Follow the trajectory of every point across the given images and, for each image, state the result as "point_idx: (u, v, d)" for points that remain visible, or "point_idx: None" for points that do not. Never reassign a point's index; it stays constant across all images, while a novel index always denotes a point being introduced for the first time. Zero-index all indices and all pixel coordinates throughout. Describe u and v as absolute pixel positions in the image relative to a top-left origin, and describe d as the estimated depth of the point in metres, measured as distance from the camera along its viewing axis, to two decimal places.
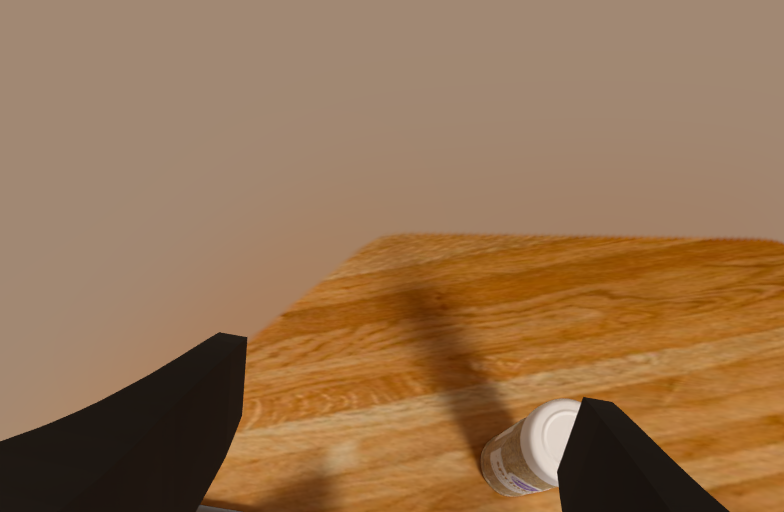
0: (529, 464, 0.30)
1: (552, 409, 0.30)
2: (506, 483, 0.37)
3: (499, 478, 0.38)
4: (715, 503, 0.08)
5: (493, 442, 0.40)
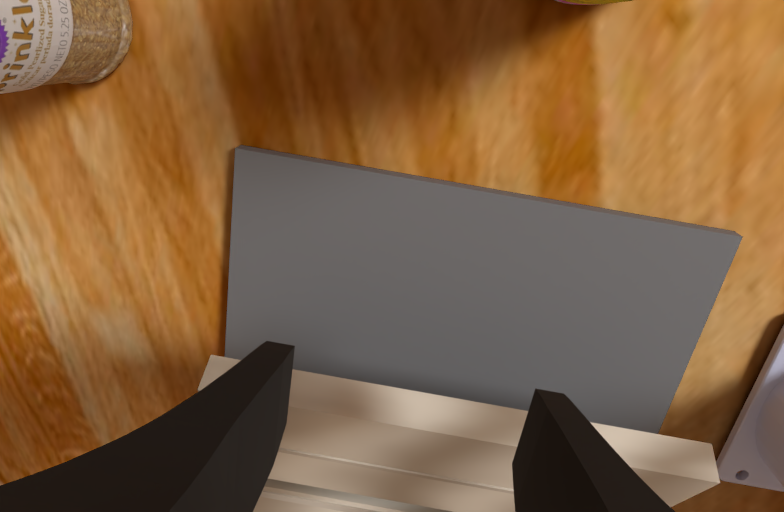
0: None
1: None
2: (39, 66, 0.15)
3: (42, 77, 0.16)
4: (649, 491, 0.08)
5: None
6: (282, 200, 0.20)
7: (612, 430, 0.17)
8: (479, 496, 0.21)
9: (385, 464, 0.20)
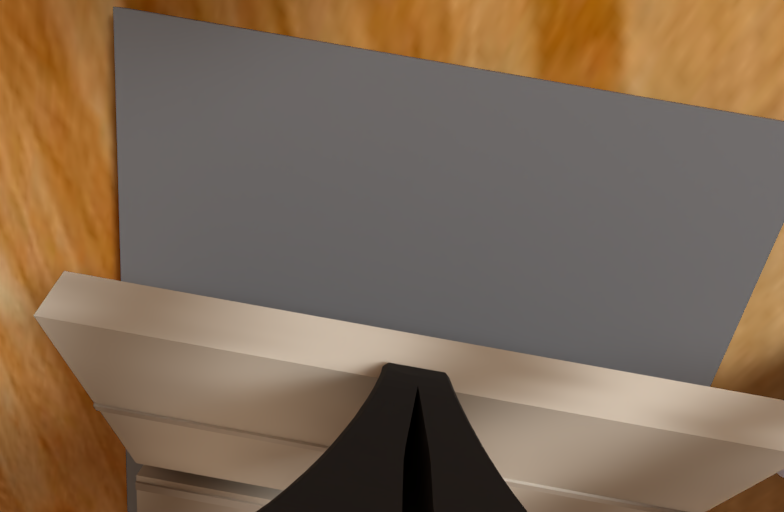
0: None
1: None
2: None
3: None
4: (487, 462, 0.08)
5: None
6: (183, 84, 0.15)
7: (643, 380, 0.12)
8: None
9: (325, 441, 0.14)
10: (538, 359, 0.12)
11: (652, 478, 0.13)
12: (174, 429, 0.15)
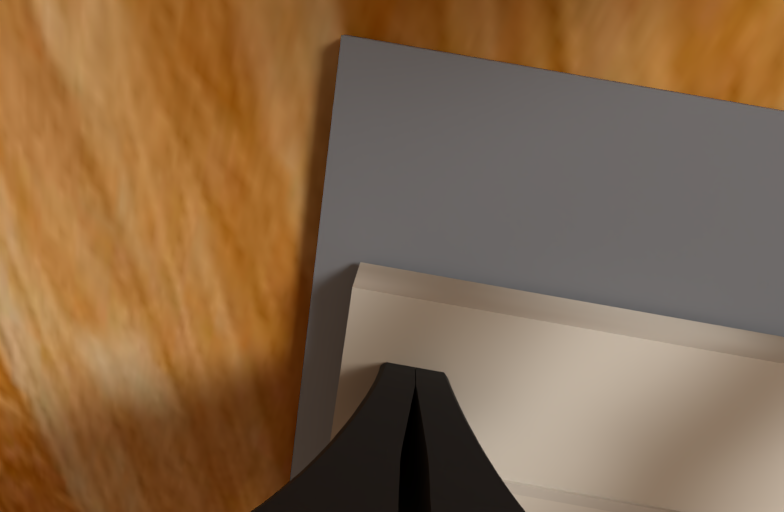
0: None
1: None
2: None
3: None
4: (485, 462, 0.08)
5: None
6: (422, 136, 0.11)
7: None
8: None
9: (603, 489, 0.12)
10: None
11: None
12: None
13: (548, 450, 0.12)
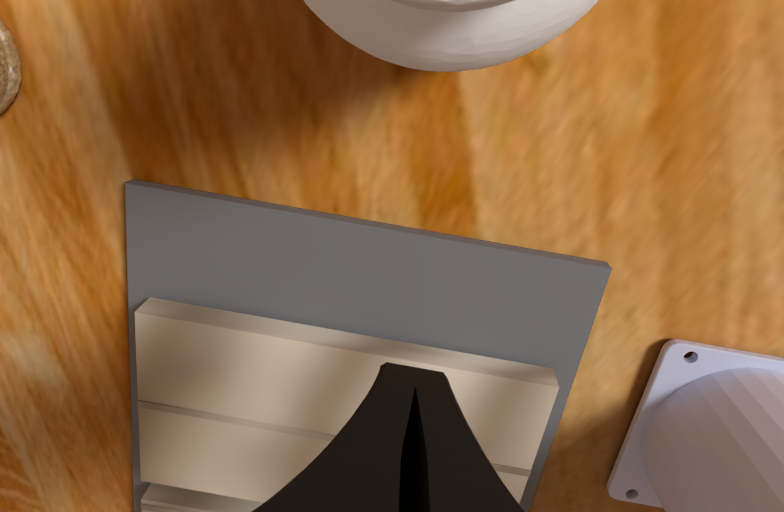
0: None
1: None
2: None
3: None
4: (484, 462, 0.08)
5: None
6: (173, 232, 0.21)
7: (473, 356, 0.22)
8: None
9: (288, 422, 0.22)
10: (415, 345, 0.22)
11: (490, 429, 0.22)
12: (185, 424, 0.23)
13: (254, 400, 0.22)
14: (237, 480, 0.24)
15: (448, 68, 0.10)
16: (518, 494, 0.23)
